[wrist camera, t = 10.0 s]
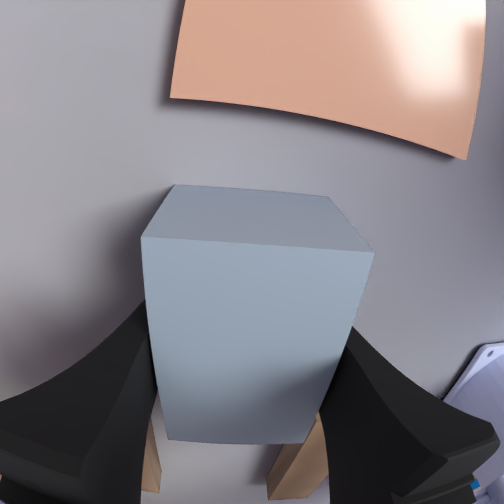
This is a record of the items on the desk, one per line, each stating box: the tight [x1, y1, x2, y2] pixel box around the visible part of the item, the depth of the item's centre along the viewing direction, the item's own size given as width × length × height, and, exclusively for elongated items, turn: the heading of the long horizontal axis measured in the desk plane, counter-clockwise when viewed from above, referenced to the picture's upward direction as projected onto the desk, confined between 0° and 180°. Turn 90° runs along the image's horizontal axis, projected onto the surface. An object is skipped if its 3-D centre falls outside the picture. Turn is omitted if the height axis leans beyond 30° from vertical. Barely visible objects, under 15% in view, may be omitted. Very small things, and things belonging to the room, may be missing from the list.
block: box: [141, 185, 375, 444], centre depth 10 cm, size 5×8×4 cm, turn 175°
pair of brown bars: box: [141, 411, 329, 500], centre depth 16 cm, size 14×12×2 cm
